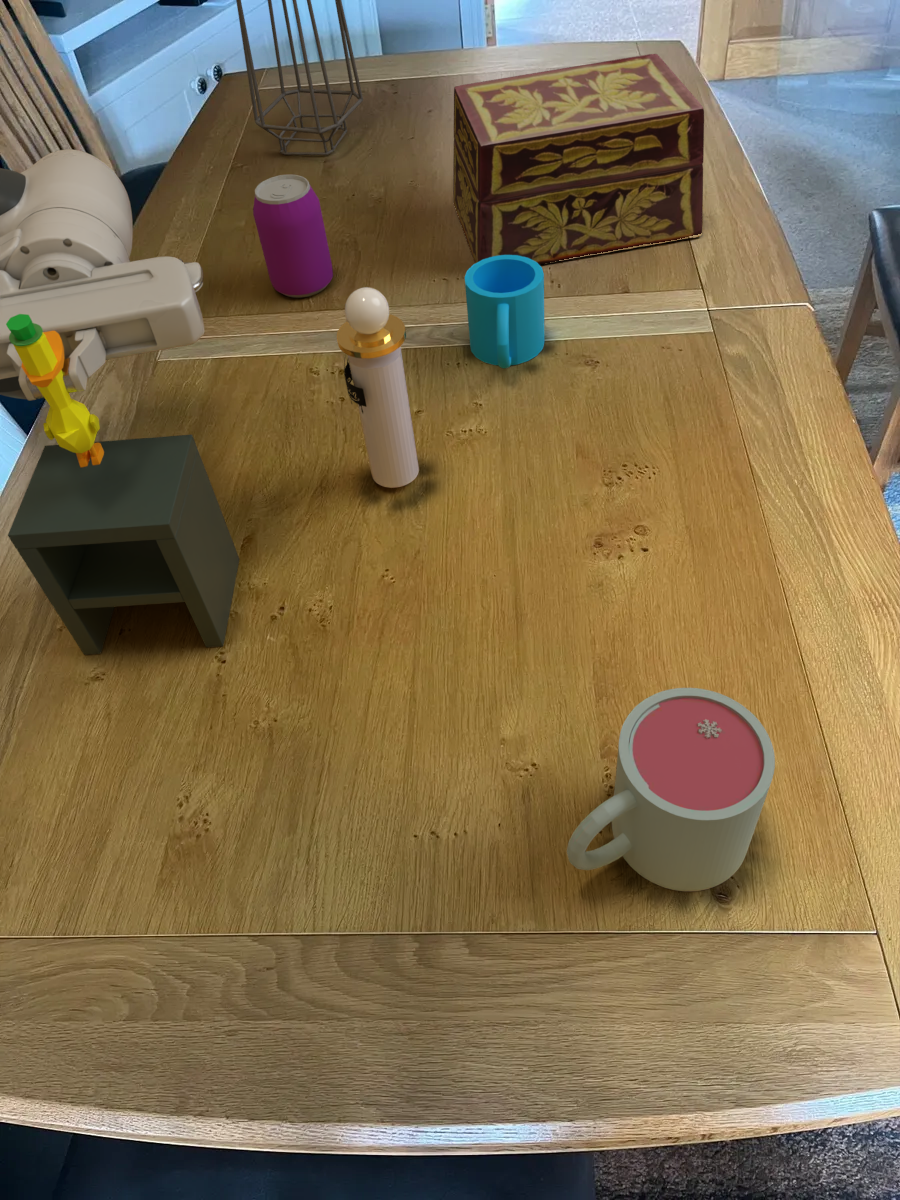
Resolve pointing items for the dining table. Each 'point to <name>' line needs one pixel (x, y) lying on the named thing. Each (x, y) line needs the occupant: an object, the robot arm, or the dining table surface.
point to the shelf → (127, 536)
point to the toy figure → (55, 389)
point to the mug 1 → (505, 309)
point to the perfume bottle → (379, 385)
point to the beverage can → (292, 236)
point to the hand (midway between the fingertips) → (51, 387)
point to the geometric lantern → (251, 73)
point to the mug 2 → (682, 791)
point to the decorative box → (578, 160)
